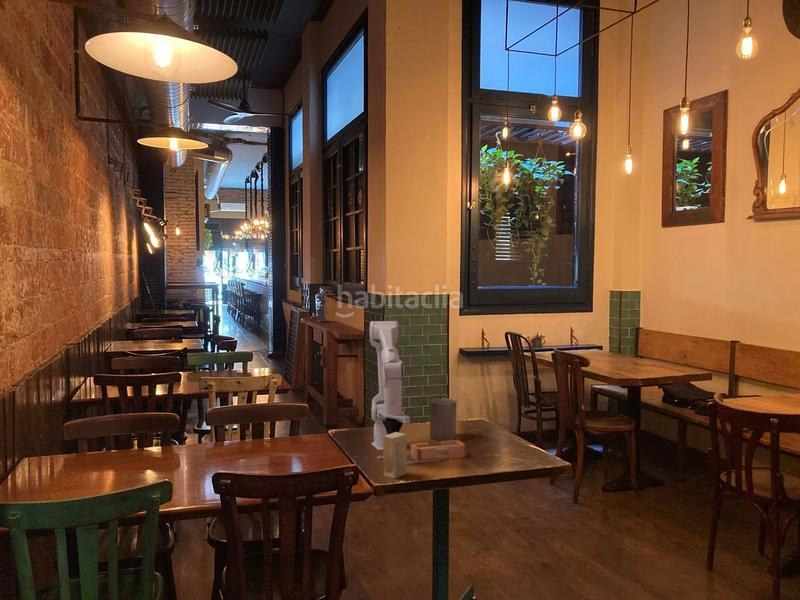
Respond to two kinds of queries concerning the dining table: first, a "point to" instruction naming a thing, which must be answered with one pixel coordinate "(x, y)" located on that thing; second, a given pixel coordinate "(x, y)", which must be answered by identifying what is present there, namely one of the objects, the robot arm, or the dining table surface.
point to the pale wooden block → (441, 450)
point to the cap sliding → (422, 451)
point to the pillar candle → (443, 419)
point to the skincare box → (395, 455)
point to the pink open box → (455, 449)
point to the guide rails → (420, 460)
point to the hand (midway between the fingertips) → (393, 441)
